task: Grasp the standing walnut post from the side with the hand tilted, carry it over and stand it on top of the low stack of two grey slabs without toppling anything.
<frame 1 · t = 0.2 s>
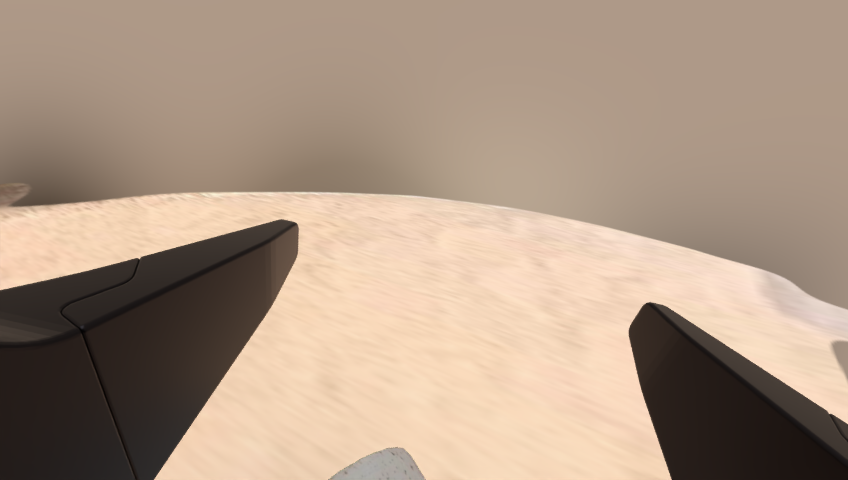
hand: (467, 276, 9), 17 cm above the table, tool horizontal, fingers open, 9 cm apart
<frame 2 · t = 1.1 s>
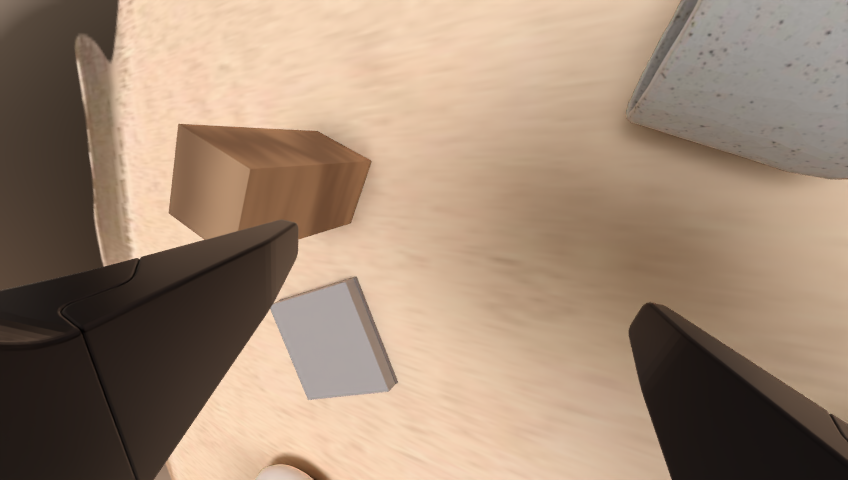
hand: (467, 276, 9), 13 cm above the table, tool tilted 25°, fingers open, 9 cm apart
walnut post: (334, 177, 27), on the table
upper grey slab: (333, 340, 30), resting on lower grey slab
lower grey slab: (341, 334, 31), on the table, touching upper grey slab
ceramic mug: (762, 36, 16), on the table
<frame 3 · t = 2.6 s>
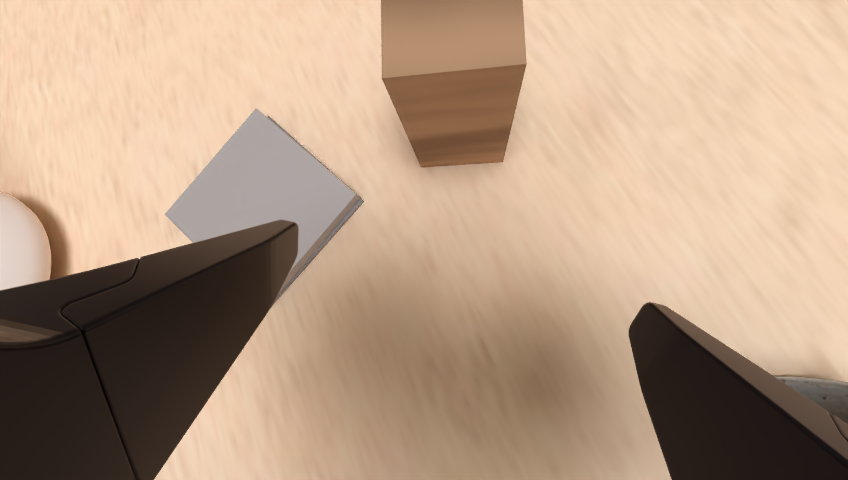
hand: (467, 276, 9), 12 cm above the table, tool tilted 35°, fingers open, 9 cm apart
flower in vase: (6, 262, 26), on the table
walnut post: (460, 126, 23), on the table
upper grey slab: (266, 207, 24), resting on lower grey slab
lower grey slab: (276, 211, 25), on the table, touching upper grey slab
ceramic mug: (791, 447, 19), on the table
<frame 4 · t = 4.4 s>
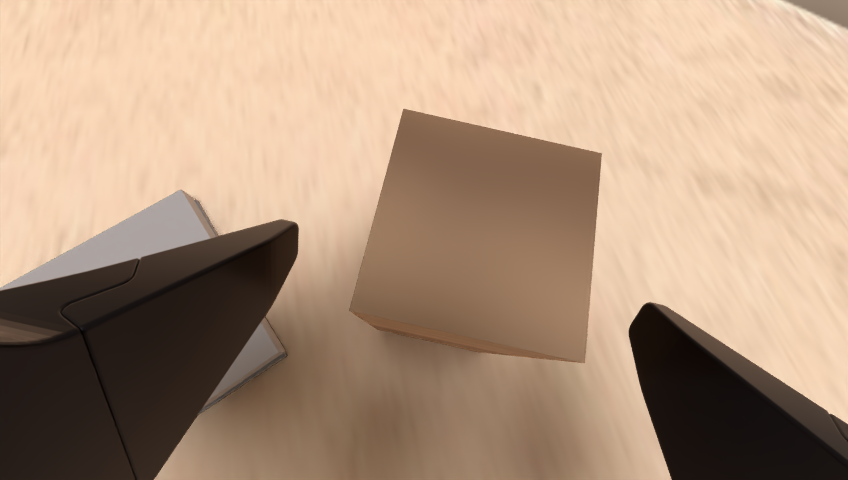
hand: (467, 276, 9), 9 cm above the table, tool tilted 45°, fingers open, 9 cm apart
walnut post: (439, 289, 18), on the table
upper grey slab: (144, 327, 16), resting on lower grey slab
lower grey slab: (159, 330, 17), on the table, touching upper grey slab
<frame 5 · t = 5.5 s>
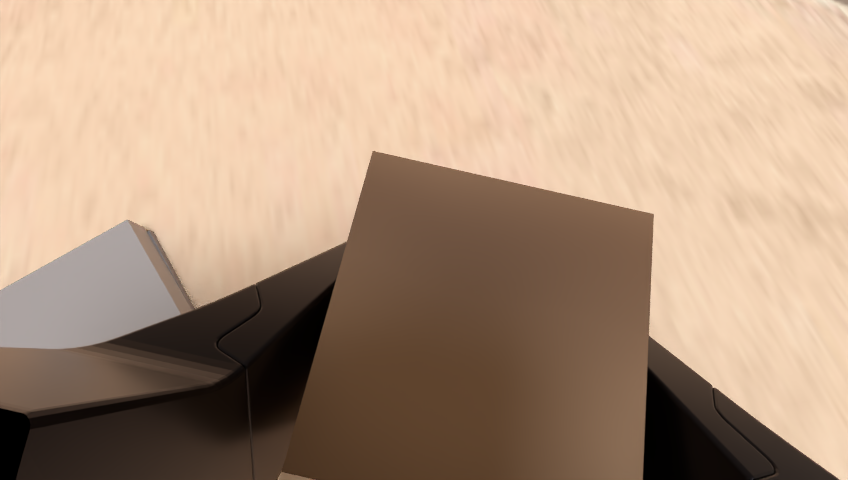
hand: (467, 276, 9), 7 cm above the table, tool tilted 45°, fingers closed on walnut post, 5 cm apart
walnut post: (433, 335, 15), on the table, touching gripper
upper grey slab: (82, 385, 14), resting on lower grey slab
lower grey slab: (104, 385, 15), on the table, touching upper grey slab
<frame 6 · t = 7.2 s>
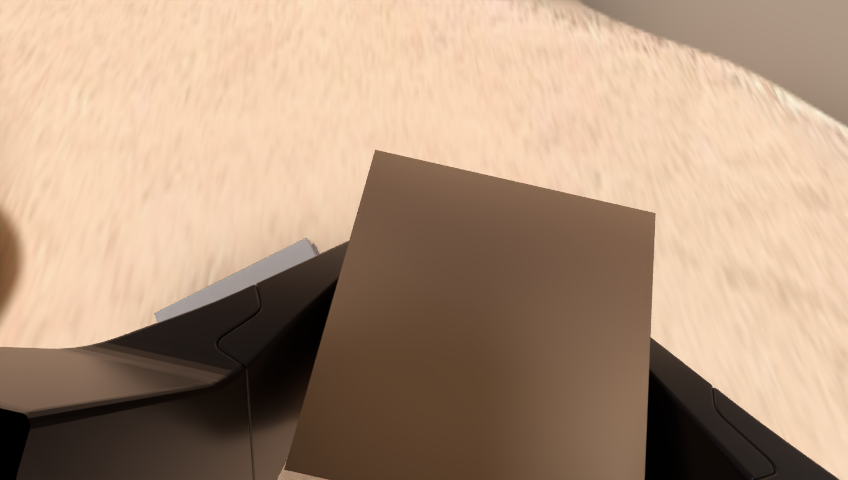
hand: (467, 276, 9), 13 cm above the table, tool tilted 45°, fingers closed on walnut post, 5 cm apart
walnut post: (434, 334, 15), point 7 cm above the table, touching gripper
upper grey slab: (271, 345, 21), resting on lower grey slab
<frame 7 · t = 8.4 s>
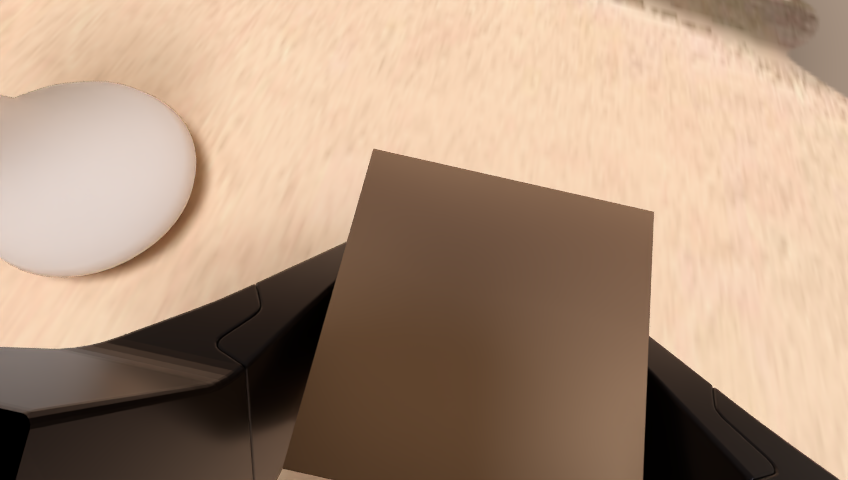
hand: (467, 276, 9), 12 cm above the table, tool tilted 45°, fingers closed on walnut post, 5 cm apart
flower in vase: (121, 176, 22), on the table
walnut post: (433, 334, 15), point 5 cm above the table, touching gripper
when the fingers open (9 cm above the table, at t = 9.5 s): walnut post drops 1 cm, resting on upper grey slab.
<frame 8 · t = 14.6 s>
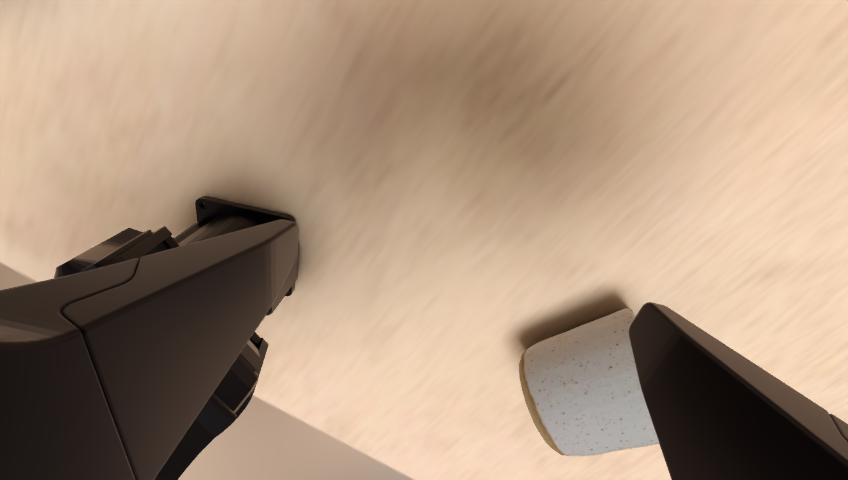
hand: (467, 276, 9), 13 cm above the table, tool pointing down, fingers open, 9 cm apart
ceramic mug: (592, 351, 27), on the table
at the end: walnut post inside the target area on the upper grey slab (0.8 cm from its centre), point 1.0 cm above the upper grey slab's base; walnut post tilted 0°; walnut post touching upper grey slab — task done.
